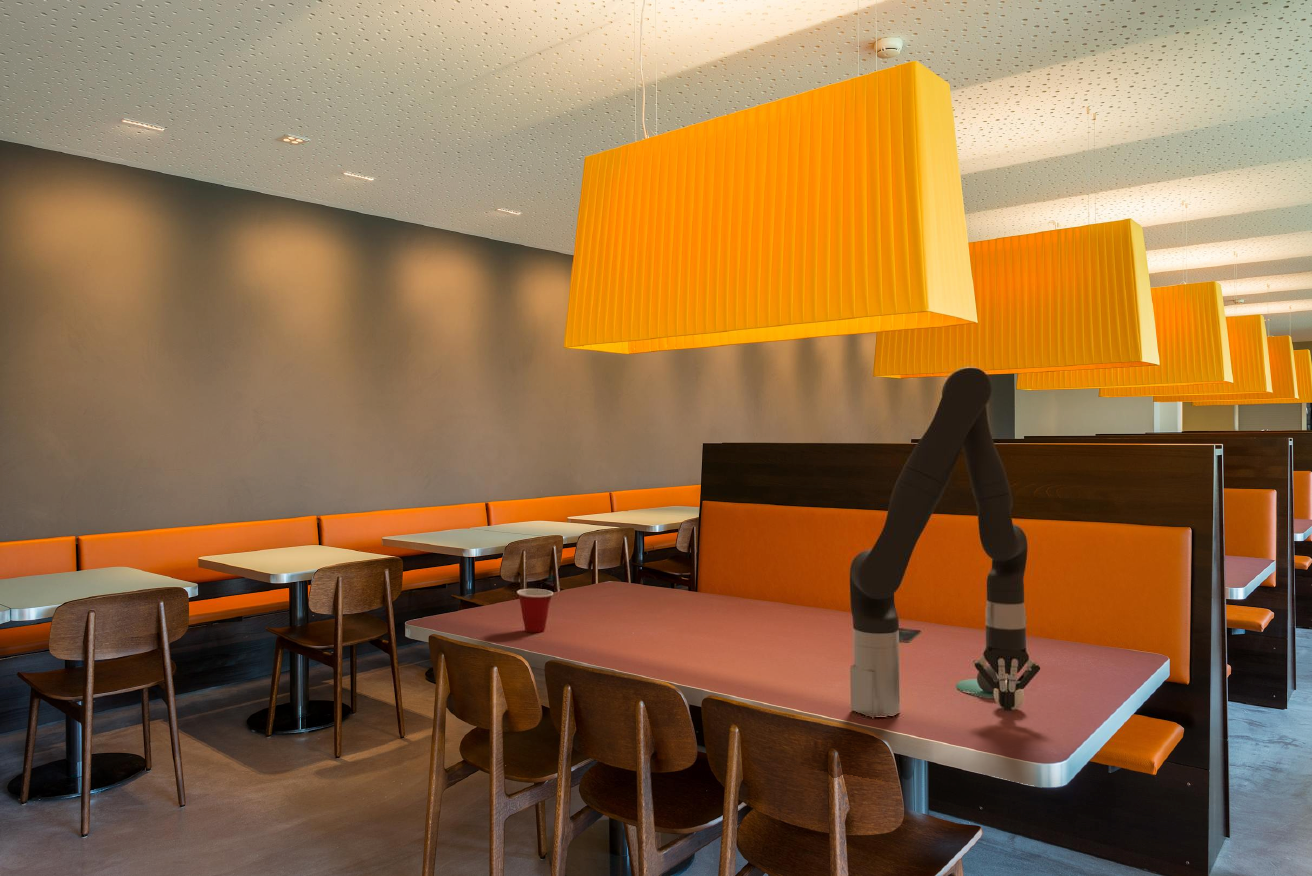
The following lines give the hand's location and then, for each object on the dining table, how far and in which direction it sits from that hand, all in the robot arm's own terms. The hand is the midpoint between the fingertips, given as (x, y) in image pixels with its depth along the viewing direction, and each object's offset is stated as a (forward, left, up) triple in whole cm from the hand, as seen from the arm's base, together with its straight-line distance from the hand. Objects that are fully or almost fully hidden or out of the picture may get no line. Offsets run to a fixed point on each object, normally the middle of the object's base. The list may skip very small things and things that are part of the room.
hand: (1006, 708), depth 170 cm
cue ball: (+5, +3, +1) cm, 6 cm away
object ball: (+11, +11, +1) cm, 16 cm away
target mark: (+13, +14, -2) cm, 19 cm away
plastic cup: (-45, +126, -2) cm, 134 cm away
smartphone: (+37, +58, -2) cm, 69 cm away
